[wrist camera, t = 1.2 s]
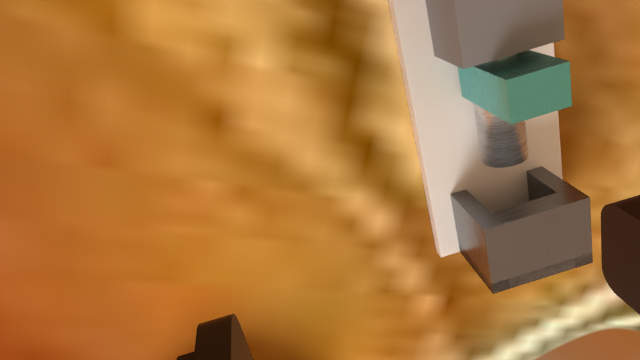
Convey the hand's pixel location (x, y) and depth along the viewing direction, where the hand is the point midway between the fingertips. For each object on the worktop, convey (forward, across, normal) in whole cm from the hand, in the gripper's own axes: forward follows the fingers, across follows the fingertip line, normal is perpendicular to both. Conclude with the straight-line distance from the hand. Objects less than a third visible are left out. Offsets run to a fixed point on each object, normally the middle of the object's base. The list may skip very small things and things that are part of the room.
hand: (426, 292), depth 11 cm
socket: (+24, -12, +13) cm, 30 cm away
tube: (+23, -12, +1) cm, 26 cm away
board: (+24, -12, +5) cm, 27 cm away
